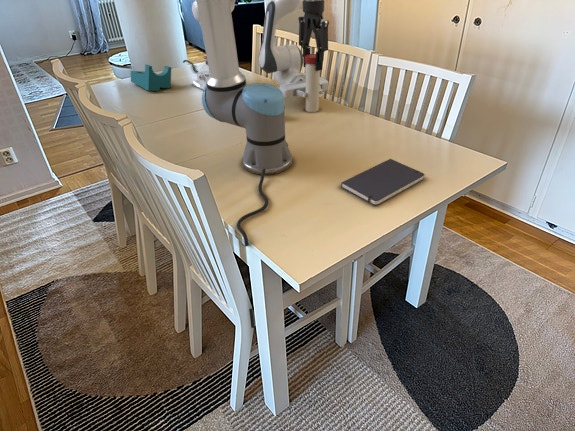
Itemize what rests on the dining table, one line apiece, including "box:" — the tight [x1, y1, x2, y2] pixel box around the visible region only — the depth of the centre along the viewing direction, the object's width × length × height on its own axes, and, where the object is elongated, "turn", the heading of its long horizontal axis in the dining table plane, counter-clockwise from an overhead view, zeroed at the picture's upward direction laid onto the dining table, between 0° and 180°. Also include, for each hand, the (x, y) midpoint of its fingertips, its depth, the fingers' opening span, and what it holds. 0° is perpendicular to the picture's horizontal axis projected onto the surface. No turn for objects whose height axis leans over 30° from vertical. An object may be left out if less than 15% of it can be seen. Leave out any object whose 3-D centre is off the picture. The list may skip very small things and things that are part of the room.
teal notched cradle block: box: [130, 64, 172, 92], centre depth 188 cm, size 18×11×10 cm, turn 43°
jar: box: [304, 63, 321, 113], centre depth 156 cm, size 5×5×20 cm
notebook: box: [340, 158, 425, 206], centre depth 114 cm, size 13×2×21 cm
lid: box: [305, 53, 316, 64], centre depth 150 cm, size 6×6×2 cm
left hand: (313, 93), depth 157 cm, fingers closed on jar, 5 cm apart
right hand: (312, 68), depth 152 cm, fingers open, 6 cm apart
